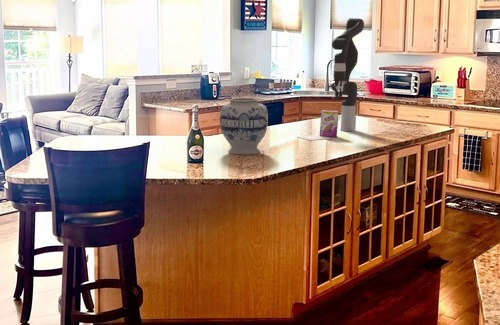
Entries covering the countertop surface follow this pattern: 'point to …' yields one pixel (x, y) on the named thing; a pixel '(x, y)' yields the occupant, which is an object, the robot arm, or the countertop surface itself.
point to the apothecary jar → (244, 125)
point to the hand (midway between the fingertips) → (338, 97)
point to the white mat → (313, 137)
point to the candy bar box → (329, 123)
